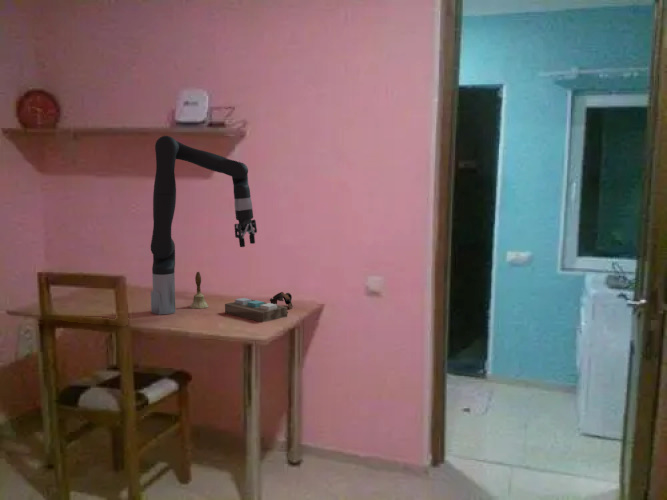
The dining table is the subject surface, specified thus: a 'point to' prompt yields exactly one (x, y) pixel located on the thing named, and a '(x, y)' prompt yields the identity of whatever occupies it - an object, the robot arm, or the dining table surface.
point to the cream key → (268, 306)
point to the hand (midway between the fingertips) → (247, 245)
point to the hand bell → (198, 295)
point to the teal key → (255, 303)
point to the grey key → (242, 301)
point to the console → (255, 312)
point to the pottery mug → (280, 297)
